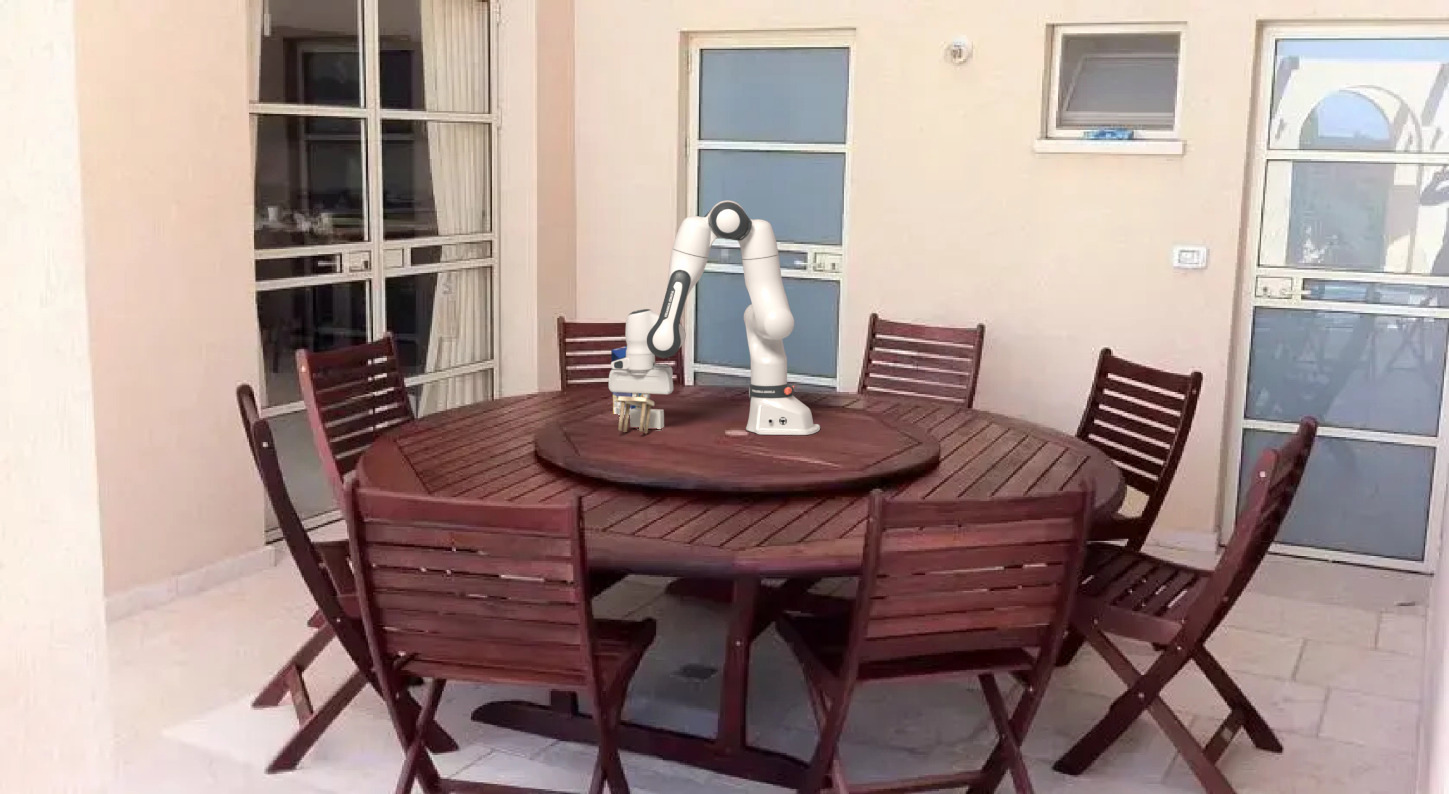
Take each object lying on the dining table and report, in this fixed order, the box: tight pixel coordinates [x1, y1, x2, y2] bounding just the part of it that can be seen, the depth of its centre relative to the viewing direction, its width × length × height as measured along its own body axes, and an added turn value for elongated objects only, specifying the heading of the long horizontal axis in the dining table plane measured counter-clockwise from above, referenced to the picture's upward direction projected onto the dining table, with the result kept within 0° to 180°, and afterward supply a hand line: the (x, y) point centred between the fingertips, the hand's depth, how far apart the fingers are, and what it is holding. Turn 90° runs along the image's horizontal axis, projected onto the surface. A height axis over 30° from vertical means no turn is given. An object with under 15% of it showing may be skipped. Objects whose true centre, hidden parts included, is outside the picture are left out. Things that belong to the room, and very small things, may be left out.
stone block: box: [629, 408, 665, 429], centre depth 417 cm, size 10×3×6 cm, turn 72°
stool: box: [617, 396, 656, 434], centre depth 407 cm, size 9×7×10 cm
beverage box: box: [610, 345, 643, 415], centre depth 441 cm, size 7×11×22 cm, turn 160°
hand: (641, 407), depth 413 cm, fingers closed
